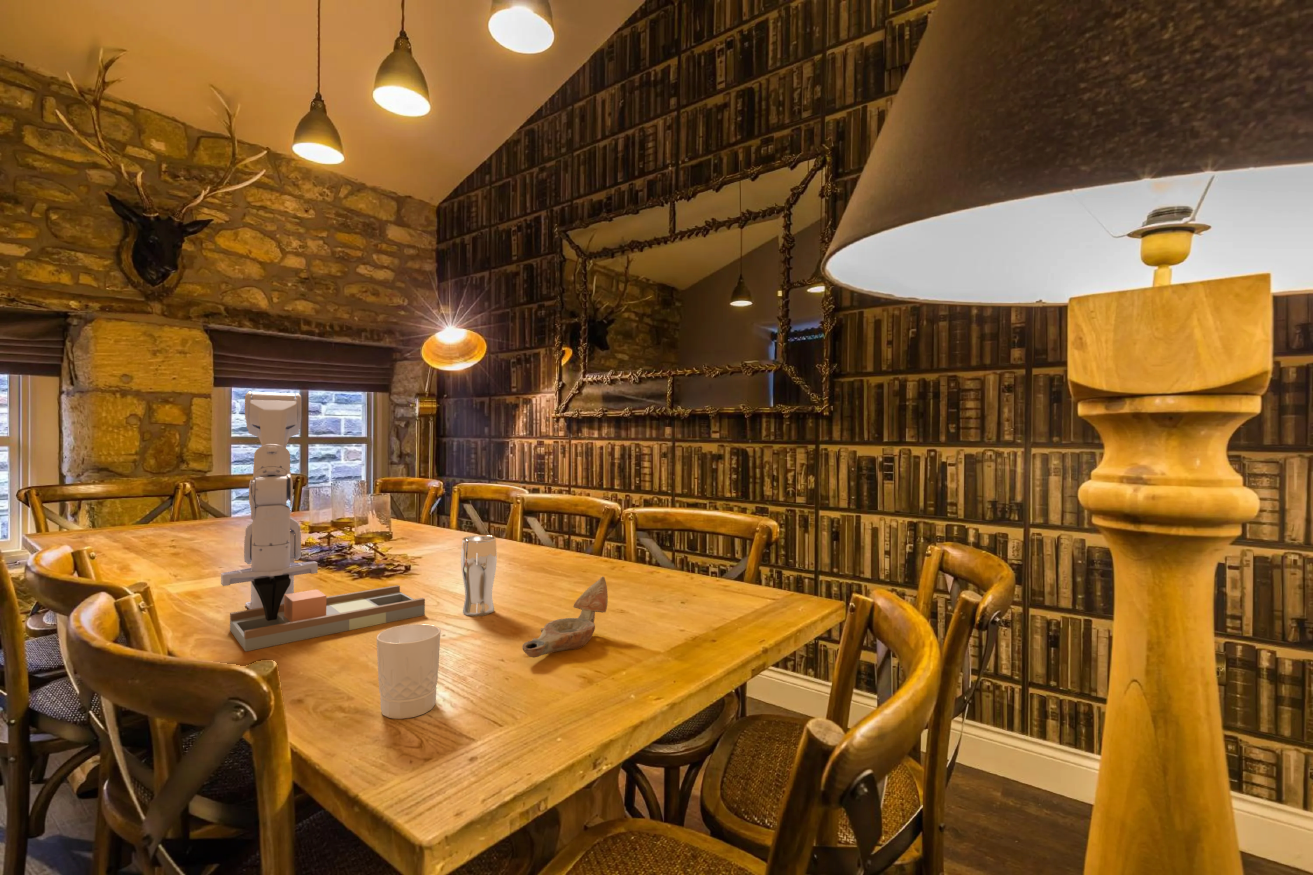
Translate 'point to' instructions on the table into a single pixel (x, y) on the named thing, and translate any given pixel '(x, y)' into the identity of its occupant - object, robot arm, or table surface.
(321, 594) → the block
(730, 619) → the table surface
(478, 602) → the beer glass
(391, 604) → the grey long tray
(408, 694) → the white cup
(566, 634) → the oil lamp
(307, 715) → the table surface
